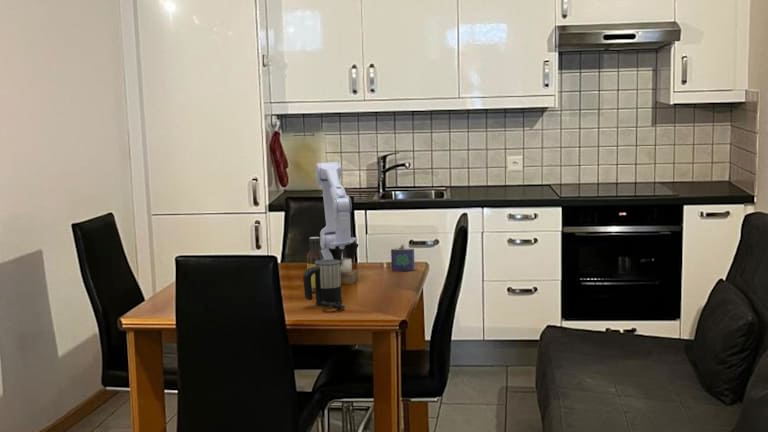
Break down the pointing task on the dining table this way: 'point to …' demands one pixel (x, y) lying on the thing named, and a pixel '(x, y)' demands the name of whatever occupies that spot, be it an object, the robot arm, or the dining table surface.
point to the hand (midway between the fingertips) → (344, 264)
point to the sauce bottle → (314, 257)
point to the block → (349, 277)
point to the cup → (346, 265)
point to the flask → (402, 259)
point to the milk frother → (325, 283)
